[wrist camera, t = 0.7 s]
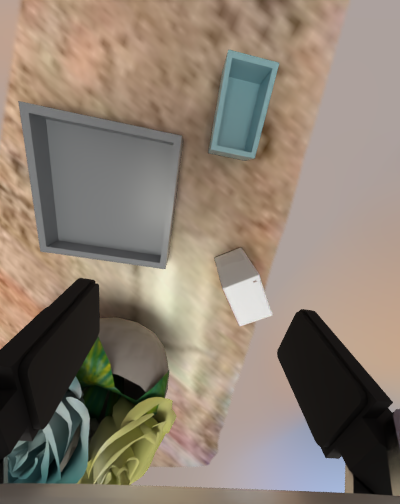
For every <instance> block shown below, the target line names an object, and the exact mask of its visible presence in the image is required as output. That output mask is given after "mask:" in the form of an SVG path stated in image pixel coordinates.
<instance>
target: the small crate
mask: <svg viewBox="0 0 400 504" xmlns="http://www.w3.org/2000/svg"><path fill="white" fill-rule="evenodd" d="M278 66H279V63H278V62H274V61H270V60H267V59H263V58H259V57H255V56H251V55H247V54H244V53H240V52H236V51H232V50H228V53H227V56H226V60H225V64H224V67H223V71H222V76H221V81H220V87H219V93H218V99H217V104H216V110H215V116H214V122H213V127H212V133H211V139H210V145H209V150H208V153H210V154H215V155H219V156H224V157H229V158H234V159H239V160H244V161H246V160H251V159H255V155H256V151H257V147H258V144H259V140H260V136H261V132H262V128H263V124H264V120H265V116H266V113H267V109H268V105H269V101H270V97H271V93H272V89H273V85H274V82H275V78H276V74H277V70H278Z"/></svg>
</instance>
